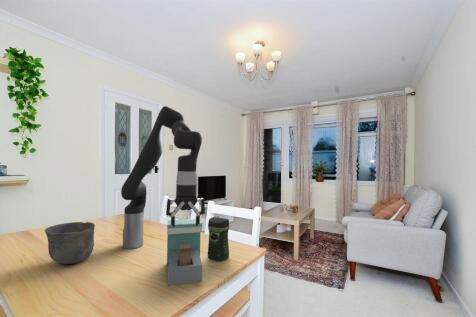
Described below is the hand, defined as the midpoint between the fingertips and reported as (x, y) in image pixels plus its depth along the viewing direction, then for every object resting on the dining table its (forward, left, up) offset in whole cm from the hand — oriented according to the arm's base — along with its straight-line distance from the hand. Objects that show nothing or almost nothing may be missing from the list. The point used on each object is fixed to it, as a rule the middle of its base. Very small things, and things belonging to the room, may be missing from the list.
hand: (185, 225), depth 87 cm
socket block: (0, +4, -20) cm, 20 cm away
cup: (-47, +26, -20) cm, 57 cm away
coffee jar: (+16, +15, -20) cm, 29 cm away
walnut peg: (0, 0, -20) cm, 20 cm away
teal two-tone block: (0, +11, -20) cm, 23 cm away
